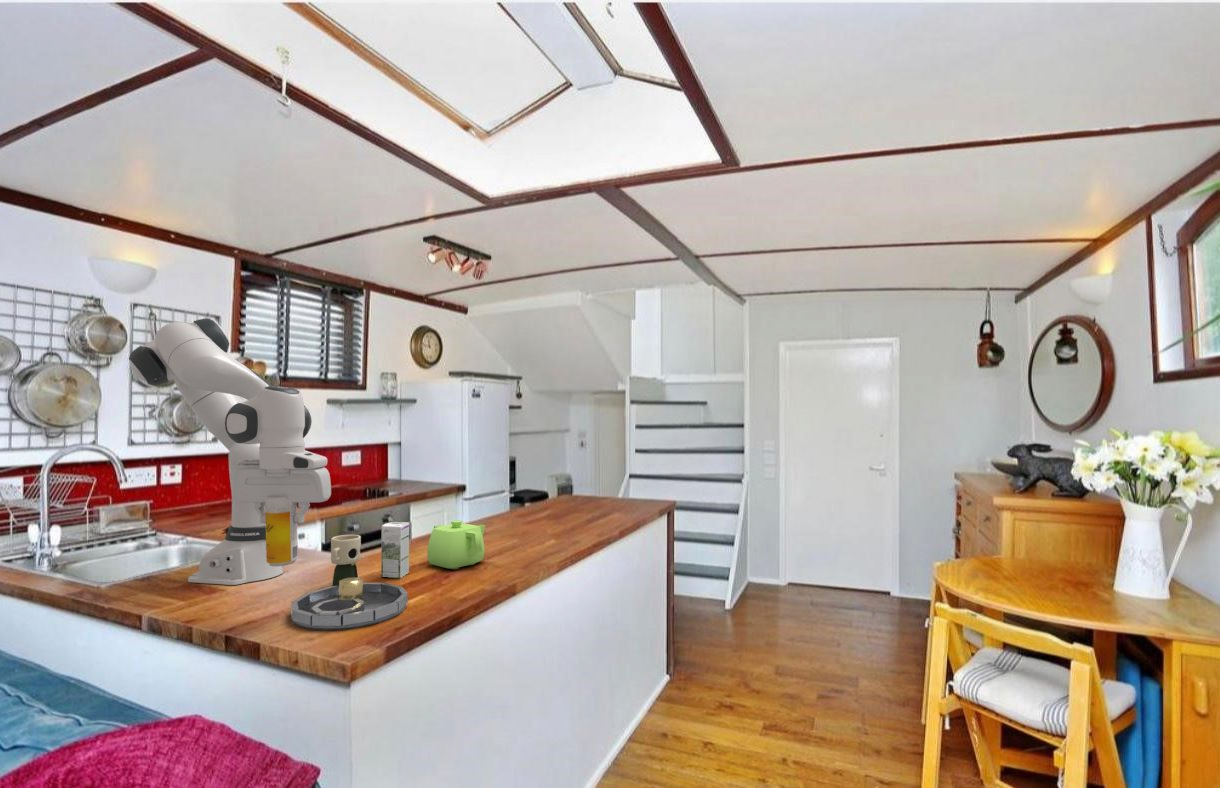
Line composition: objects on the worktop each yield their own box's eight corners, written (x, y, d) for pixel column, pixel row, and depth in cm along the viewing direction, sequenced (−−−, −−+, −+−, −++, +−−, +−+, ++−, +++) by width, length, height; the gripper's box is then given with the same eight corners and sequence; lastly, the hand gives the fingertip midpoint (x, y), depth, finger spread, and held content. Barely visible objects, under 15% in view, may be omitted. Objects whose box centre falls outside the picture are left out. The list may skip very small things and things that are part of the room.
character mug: (346, 594, 150) (347, 542, 150) (320, 593, 150) (320, 541, 151) (369, 582, 160) (369, 533, 161) (344, 581, 161) (344, 532, 161)
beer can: (274, 559, 134) (272, 492, 134) (302, 558, 135) (301, 492, 135) (261, 567, 128) (259, 498, 128) (290, 566, 129) (289, 497, 128)
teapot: (463, 552, 194) (463, 512, 194) (507, 562, 182) (507, 518, 182) (414, 564, 179) (415, 520, 179) (459, 575, 167) (459, 528, 168)
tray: (268, 630, 125) (269, 596, 126) (322, 594, 149) (323, 566, 150) (383, 630, 126) (384, 596, 126) (419, 594, 150) (419, 566, 150)
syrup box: (409, 573, 169) (410, 521, 169) (400, 579, 163) (400, 525, 164) (390, 572, 170) (390, 521, 170) (380, 578, 164) (380, 525, 164)
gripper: (226, 461, 129) (226, 525, 129) (320, 460, 129) (320, 525, 128) (244, 458, 135) (244, 520, 135) (334, 458, 135) (334, 519, 135)
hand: (282, 522), depth 132 cm, fingers closed on beer can, 6 cm apart
